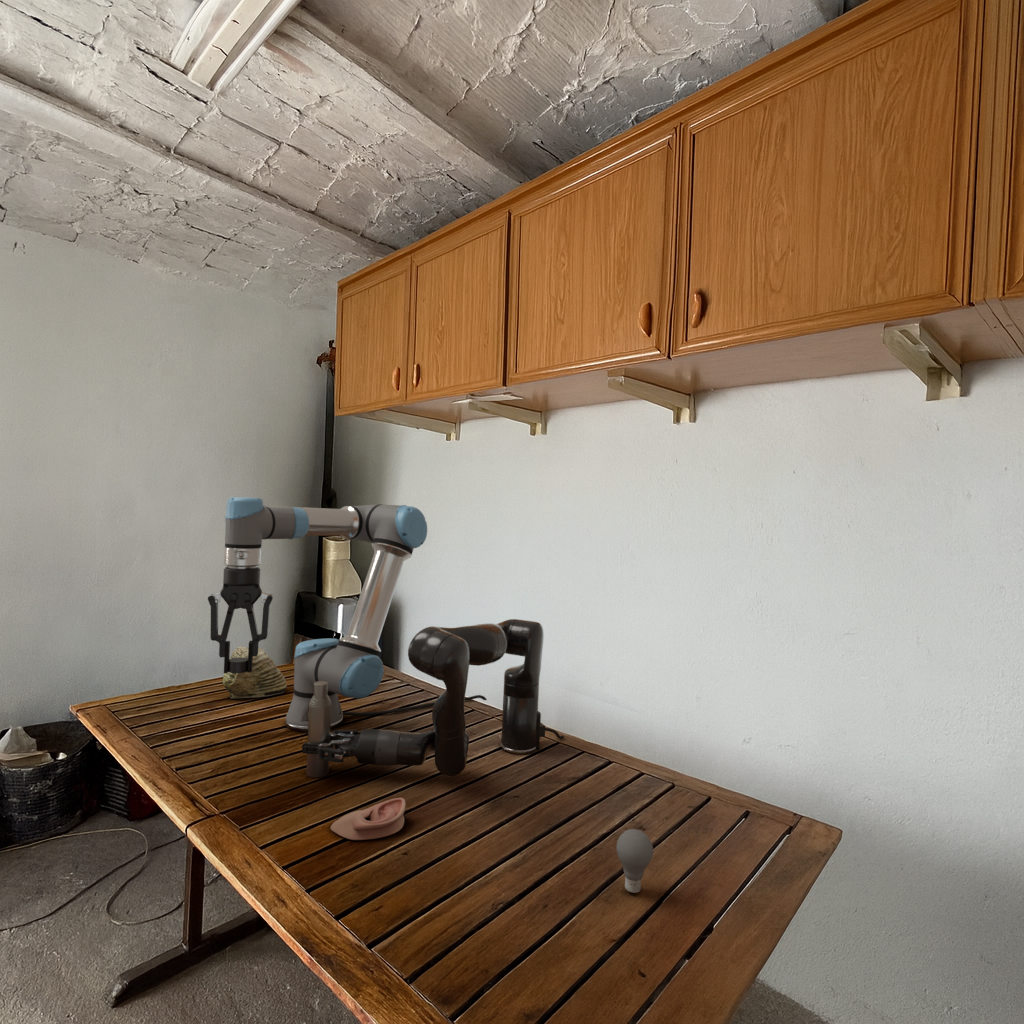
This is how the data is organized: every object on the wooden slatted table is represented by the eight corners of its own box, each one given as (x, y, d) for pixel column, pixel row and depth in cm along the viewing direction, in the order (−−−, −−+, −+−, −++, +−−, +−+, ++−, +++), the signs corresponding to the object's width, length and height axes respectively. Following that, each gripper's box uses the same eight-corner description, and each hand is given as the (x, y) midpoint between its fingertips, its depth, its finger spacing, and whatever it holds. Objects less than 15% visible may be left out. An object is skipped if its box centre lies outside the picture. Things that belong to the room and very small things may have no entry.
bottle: (302, 776, 143) (306, 684, 143) (312, 767, 148) (315, 679, 148) (323, 778, 142) (326, 686, 142) (332, 769, 147) (335, 680, 147)
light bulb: (610, 879, 108) (613, 822, 108) (644, 879, 109) (647, 822, 109) (619, 902, 102) (622, 840, 102) (655, 901, 103) (658, 840, 103)
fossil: (218, 695, 195) (220, 647, 195) (278, 685, 208) (279, 640, 207) (228, 703, 189) (230, 653, 188) (289, 692, 201) (290, 645, 201)
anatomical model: (323, 814, 118) (350, 787, 130) (322, 835, 118) (350, 806, 130) (389, 824, 116) (412, 796, 127) (389, 846, 116) (411, 816, 127)
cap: (238, 674, 138) (238, 663, 138) (223, 671, 140) (224, 660, 140) (252, 670, 142) (252, 659, 142) (238, 667, 144) (238, 656, 144)
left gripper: (196, 568, 135) (192, 677, 135) (282, 568, 140) (278, 674, 140) (202, 564, 142) (198, 668, 142) (284, 565, 147) (279, 665, 147)
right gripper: (388, 720, 152) (318, 716, 152) (373, 742, 137) (296, 738, 138) (387, 751, 152) (316, 747, 152) (372, 777, 138) (294, 772, 138)
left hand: (238, 670), depth 141 cm, fingers closed on cap, 4 cm apart
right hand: (307, 743), depth 145 cm, fingers closed on bottle, 5 cm apart
